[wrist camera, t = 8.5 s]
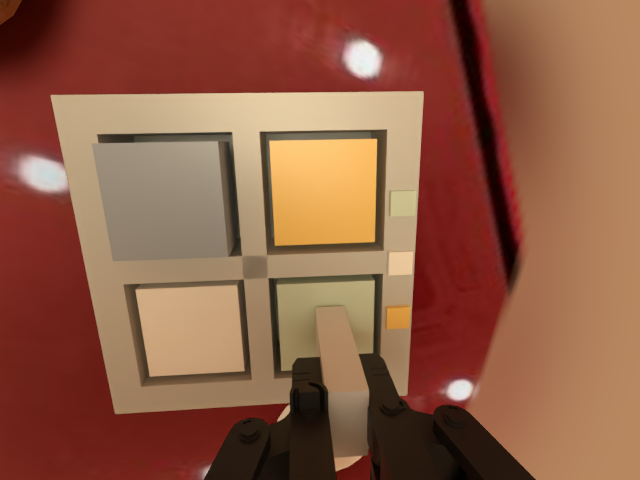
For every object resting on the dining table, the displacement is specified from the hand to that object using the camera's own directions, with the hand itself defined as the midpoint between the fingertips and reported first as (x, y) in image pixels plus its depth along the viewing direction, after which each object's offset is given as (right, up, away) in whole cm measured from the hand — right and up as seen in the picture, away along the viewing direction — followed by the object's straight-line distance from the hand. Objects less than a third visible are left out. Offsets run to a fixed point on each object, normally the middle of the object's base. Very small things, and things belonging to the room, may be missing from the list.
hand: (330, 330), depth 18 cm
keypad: (-4, +5, +4) cm, 7 cm away
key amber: (0, +8, +1) cm, 8 cm away
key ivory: (-7, +1, +2) cm, 8 cm away
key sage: (0, +1, +3) cm, 3 cm away
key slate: (-7, +7, -1) cm, 10 cm away
